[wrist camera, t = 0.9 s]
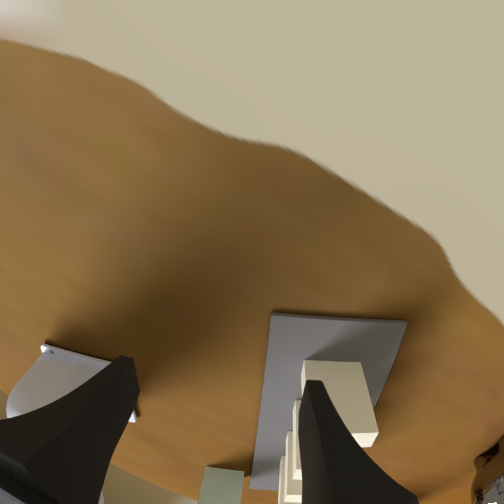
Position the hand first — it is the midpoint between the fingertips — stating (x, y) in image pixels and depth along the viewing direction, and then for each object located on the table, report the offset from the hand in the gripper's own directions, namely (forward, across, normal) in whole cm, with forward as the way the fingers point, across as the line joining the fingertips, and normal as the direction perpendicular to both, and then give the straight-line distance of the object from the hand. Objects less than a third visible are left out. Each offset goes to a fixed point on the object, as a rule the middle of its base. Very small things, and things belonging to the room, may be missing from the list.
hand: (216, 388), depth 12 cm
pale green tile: (+10, +1, +25) cm, 27 cm away
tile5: (+9, -7, +7) cm, 14 cm away
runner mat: (+10, -7, +15) cm, 19 cm away
